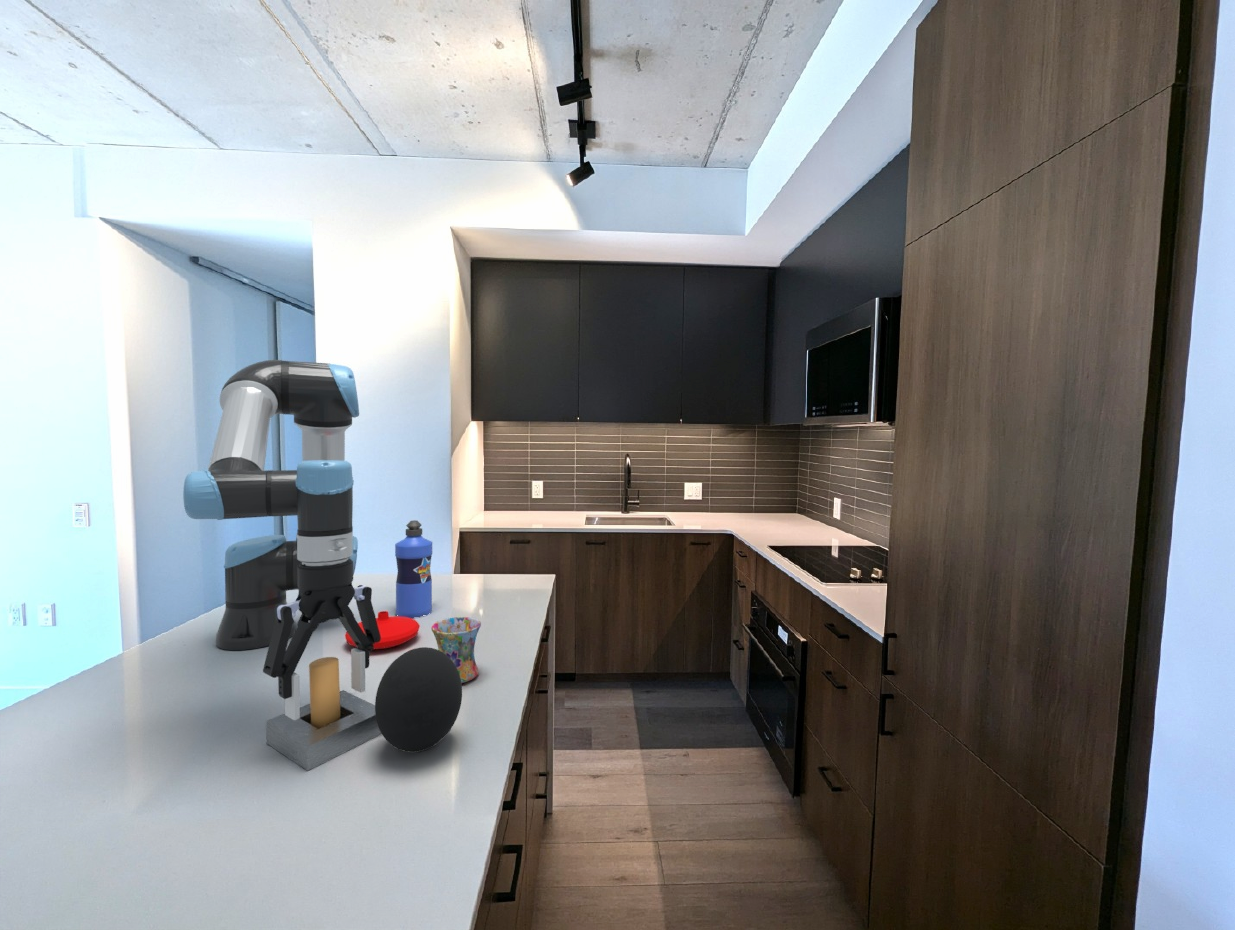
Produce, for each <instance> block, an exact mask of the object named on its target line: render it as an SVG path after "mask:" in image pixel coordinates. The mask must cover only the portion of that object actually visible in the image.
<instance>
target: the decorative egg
mask: <svg viewBox="0 0 1235 930" xmlns="http://www.w3.org/2000/svg"><path fill="white" fill-rule="evenodd" d="M375 694H376V695H375V700H374V705H375V714H376V721H377V724H378V727H379V730H380V732H381V734H380V735H382V737H383V738H384V739H385V741H386V742H387V743H389V745H390V746H392V747H394V748H395V749H397V750H399V751H402V752H407V753H417V752H422V751H425V750H428V749H430V748H432V747H434V746H436V745H437V744H439V743H440V742H441V741H442V740H443V739H444V738H445V737H446V736H447V735H448V734H449V733H450V731H451V729H452V728H453V727H454V725H455V723H456V721H457V719H458V716H459V713H460V710H461V706H462V699H463V683H461V678H460V675H459V672H458V670H457V668H456V666H455V664H454V663H453V661H452V660H451V659H450V658H449V657H448V656H447V655H446V654H444V653H443V652H441V651H439V650H438V648H437V649H436V648H433V647H416V648H412V649H410V650H408V651H406V652H404V653H401V654H400V655H399V656H398V657H397V658H395V659H394V660H393V661H392V663H390V665H389V666H388V667H387V669H386V670H385V672H384V673H383V675H382V677H381V679H380V681H379V683H378V687H377V690H376V693H375Z"/></svg>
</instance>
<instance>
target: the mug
mask: <svg viewBox="0 0 1235 930" xmlns="http://www.w3.org/2000/svg"><path fill="white" fill-rule="evenodd" d="M481 625H482V622H481V621H480V619H478V618H474V617H468V616H467V617H466V616H456V617H448V618H443V619H441V620H439V621H436V622H435V623H433V624H432V626H431V631H432V634H433V635H434V637H435V641H436V644H437V650H439V651H441V652H443V653H444V654H446V655H447V656H448V657H449V658H450V659H451V660H452V661H453V663H454V664H455V666H456V668H457V670H458V672H459V675H460V678H461V683H462V684H464V683H467V682H469V681H471V680H473V679H475V678H476V677H477V676H478V674H479V667H478V665H477V663H476V658H475V646H476V645H475V644H476V640H477V639H476V638H477V636H478V633H479V630H480V628H481Z"/></svg>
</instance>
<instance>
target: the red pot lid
mask: <svg viewBox="0 0 1235 930" xmlns="http://www.w3.org/2000/svg"><path fill="white" fill-rule="evenodd" d="M389 613H390V612H389V611H387V610H382V611H379V612H378V613H377V617H376V621H377V624H378V628H379V632H380V636H381V640H380V641H379V642H378V643H374V644H373V645H374V648H373V650H383V649H389V648H393V647H397V646H400V645H403V644H404V643H407V641H410V640H411V639H413V638H414V637H416V636H417V635H418V633H419V631H420V627H421V626H420V624H419V622H418V621H417V620H416V619H415V618H408V617H401V616H393V615H392V616H390V615H389ZM357 623H358V624H359V626H360V627H361V629H362V631H363V632H364V629H363V625H362V622H361V621H360V622H357ZM364 634H365V632H364ZM344 637H345V640H346V642H347V643H348V644H349V645H350V646H354V647H355V648H358V647H357V646H356V645H355V643H354V642H353V640H352V639H351V637H350V636H349V634H348V632H347V631H345V634H344Z"/></svg>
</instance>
